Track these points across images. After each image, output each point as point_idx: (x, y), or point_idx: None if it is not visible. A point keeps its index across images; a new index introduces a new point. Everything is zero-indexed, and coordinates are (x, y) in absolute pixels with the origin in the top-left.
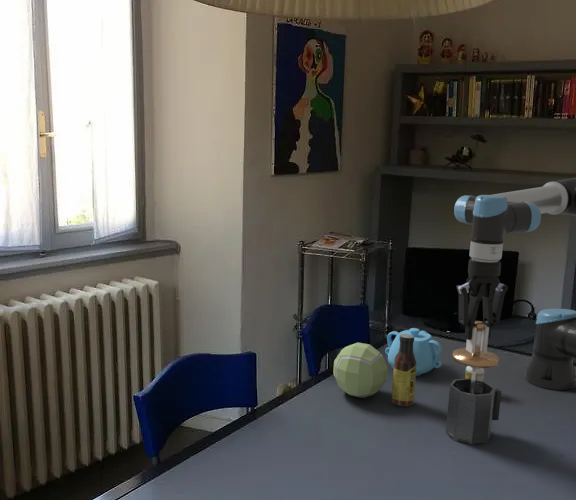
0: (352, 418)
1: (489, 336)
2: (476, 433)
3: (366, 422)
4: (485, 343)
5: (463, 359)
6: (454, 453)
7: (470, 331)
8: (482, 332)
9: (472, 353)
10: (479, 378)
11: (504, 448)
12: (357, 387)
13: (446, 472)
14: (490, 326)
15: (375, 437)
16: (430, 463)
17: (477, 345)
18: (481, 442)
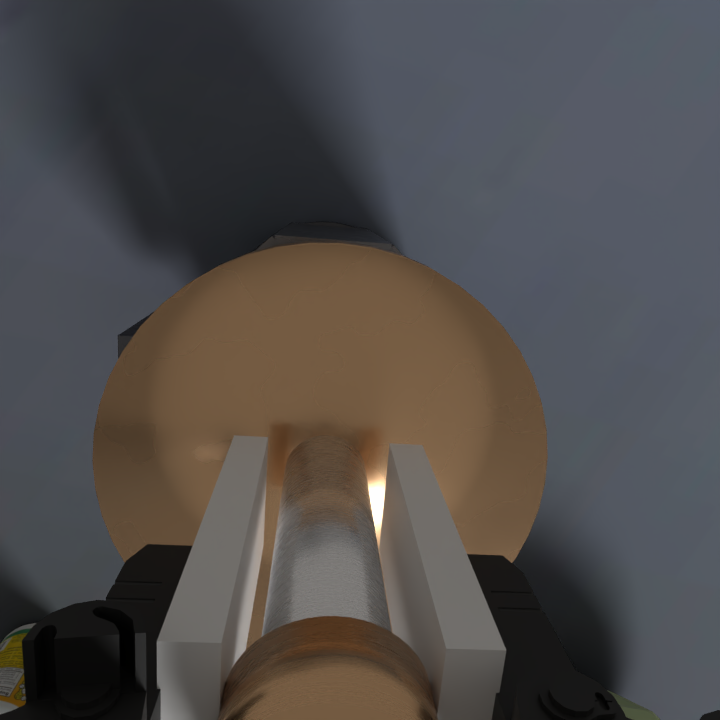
0: (687, 557)
1: (145, 561)
2: (353, 229)
3: (657, 516)
4: (248, 483)
5: (517, 414)
6: (485, 189)
7: (518, 639)
8: (236, 643)
9: (413, 445)
10: (3, 679)
11: (243, 156)
12: (645, 709)
13: (619, 62)
14: (144, 629)
15: (700, 401)
16: (632, 149)
17: (349, 497)
18: (322, 222)
